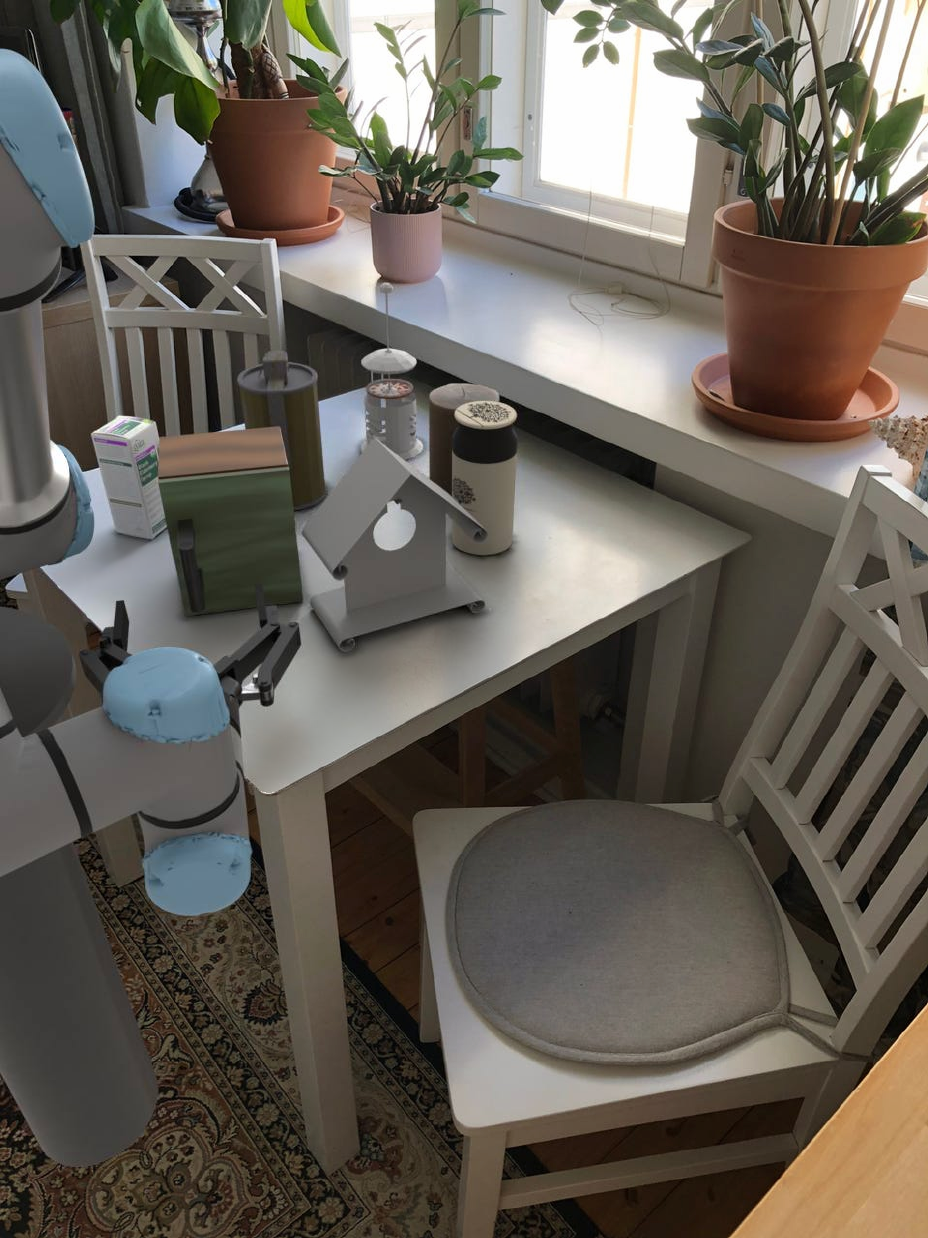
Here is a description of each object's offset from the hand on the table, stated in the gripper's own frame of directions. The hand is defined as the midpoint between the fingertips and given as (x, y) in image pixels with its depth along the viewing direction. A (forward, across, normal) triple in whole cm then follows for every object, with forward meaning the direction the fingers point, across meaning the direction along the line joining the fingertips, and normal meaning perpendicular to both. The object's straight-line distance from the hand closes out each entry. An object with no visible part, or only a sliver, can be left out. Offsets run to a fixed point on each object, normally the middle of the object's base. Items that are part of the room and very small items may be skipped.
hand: (192, 602), depth 95 cm
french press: (+50, +29, -9) cm, 59 cm away
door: (+7, +5, -9) cm, 12 cm away
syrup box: (+32, -7, -9) cm, 34 cm away
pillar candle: (+34, +37, -9) cm, 51 cm away
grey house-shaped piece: (+6, +22, -9) cm, 25 cm away
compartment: (+16, +5, -9) cm, 19 cm away
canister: (+37, +13, -9) cm, 40 cm away
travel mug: (+19, +36, -9) cm, 41 cm away
